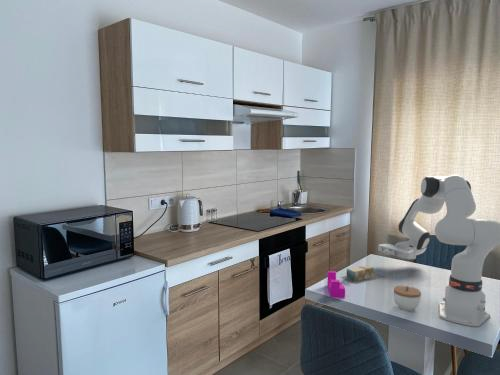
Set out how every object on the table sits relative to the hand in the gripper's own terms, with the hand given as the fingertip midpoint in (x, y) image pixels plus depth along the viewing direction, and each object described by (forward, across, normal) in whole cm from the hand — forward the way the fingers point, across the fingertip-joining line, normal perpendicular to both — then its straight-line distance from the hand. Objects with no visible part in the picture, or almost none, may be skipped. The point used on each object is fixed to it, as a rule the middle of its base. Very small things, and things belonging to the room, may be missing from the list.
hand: (385, 252), depth 205 cm
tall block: (+12, 0, +8) cm, 14 cm away
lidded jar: (+28, +36, +12) cm, 47 cm away
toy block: (+42, +7, +12) cm, 44 cm away
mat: (+16, 0, +11) cm, 20 cm away
